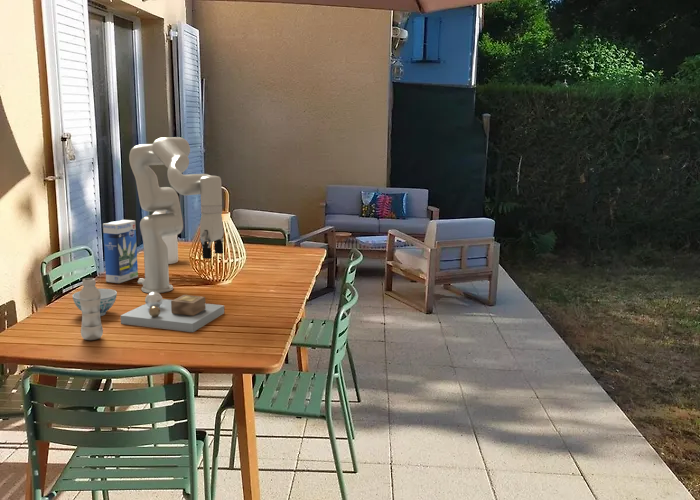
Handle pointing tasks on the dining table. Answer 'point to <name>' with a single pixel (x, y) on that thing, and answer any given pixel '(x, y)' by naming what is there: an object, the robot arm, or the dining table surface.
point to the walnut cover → (188, 305)
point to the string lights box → (120, 251)
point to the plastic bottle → (90, 310)
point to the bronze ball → (154, 311)
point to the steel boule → (153, 299)
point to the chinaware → (106, 300)
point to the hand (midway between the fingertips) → (213, 255)
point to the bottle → (170, 244)
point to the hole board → (171, 317)
